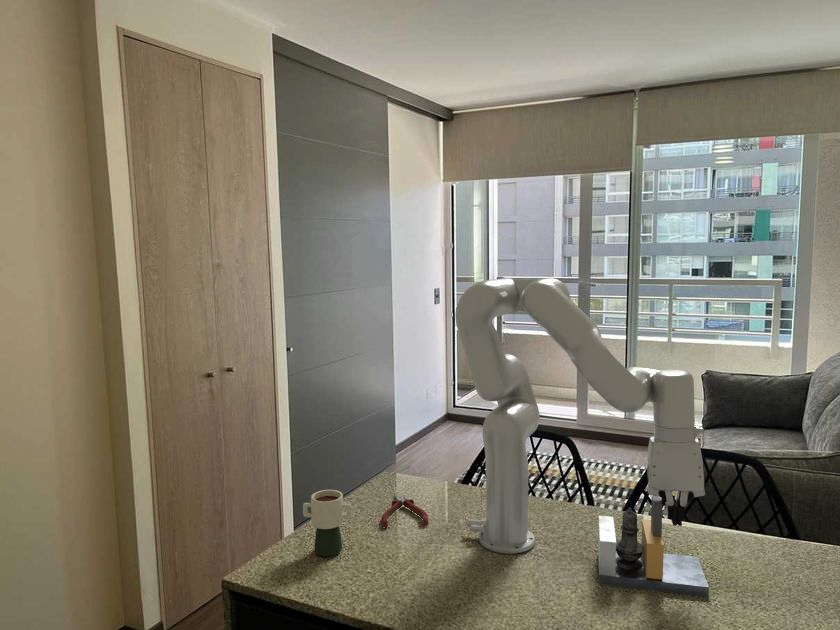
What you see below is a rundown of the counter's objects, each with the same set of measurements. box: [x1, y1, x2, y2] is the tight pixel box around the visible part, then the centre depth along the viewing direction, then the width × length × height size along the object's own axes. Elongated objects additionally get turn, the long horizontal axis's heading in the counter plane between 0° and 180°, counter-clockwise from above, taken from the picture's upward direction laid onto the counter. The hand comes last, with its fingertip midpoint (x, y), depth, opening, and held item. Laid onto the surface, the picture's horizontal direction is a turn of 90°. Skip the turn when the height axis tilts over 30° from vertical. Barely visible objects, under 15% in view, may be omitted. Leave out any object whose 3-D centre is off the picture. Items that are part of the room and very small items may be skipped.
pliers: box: [381, 492, 429, 528], centre depth 158 cm, size 12×20×3 cm, turn 5°
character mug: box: [302, 489, 353, 557], centre depth 136 cm, size 11×7×13 cm, turn 86°
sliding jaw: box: [640, 495, 665, 580], centre depth 124 cm, size 3×11×14 cm, turn 165°
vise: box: [597, 515, 710, 598], centre depth 125 cm, size 20×12×9 cm, turn 75°
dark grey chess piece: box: [616, 506, 644, 570], centre depth 126 cm, size 6×6×12 cm
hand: (676, 522), depth 123 cm, fingers closed
